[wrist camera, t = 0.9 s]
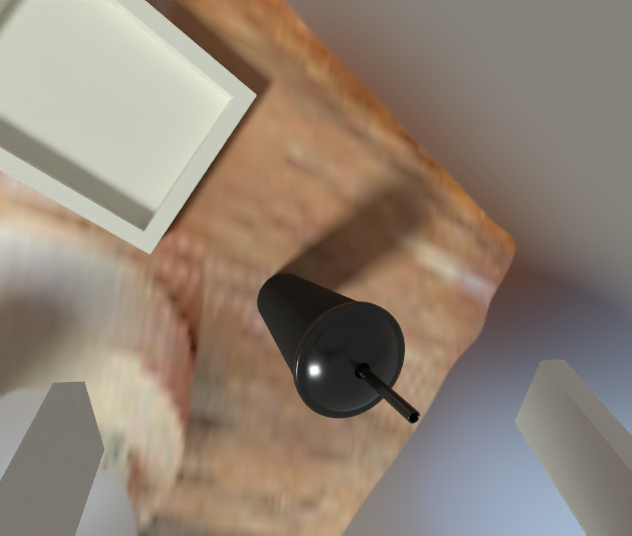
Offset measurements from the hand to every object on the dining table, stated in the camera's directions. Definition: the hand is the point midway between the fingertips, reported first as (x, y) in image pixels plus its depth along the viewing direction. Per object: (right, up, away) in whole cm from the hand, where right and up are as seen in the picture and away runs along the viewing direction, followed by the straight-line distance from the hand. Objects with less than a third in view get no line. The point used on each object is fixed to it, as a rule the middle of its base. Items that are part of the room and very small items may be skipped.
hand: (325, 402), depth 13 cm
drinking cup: (-3, +1, +26) cm, 26 cm away
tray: (-15, +15, +17) cm, 28 cm away
